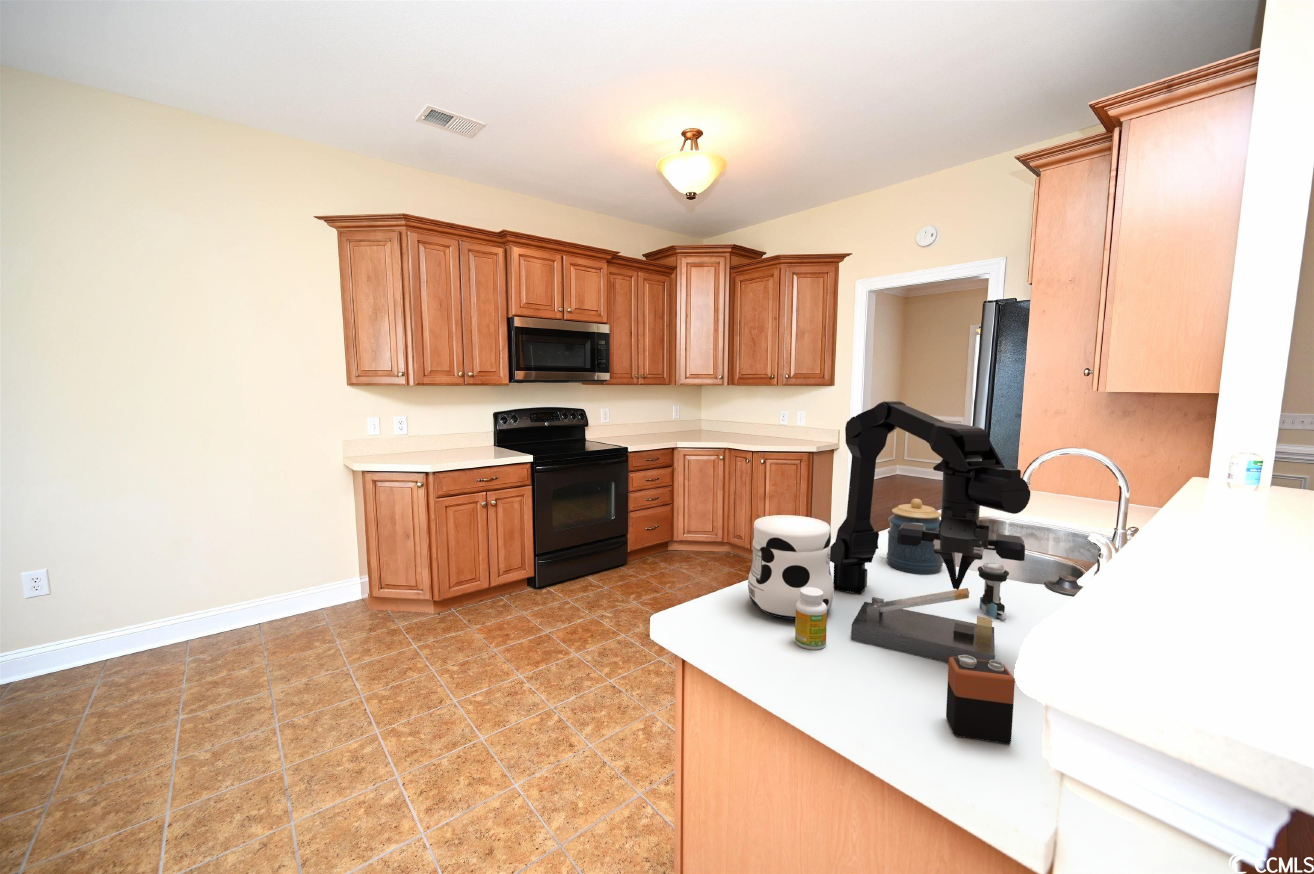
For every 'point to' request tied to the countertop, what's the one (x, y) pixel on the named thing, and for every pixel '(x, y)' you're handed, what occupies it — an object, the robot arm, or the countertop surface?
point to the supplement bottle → (811, 619)
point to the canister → (913, 556)
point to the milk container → (789, 562)
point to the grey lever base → (923, 633)
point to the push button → (992, 589)
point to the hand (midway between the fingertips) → (956, 588)
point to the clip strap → (923, 600)
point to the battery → (980, 699)
